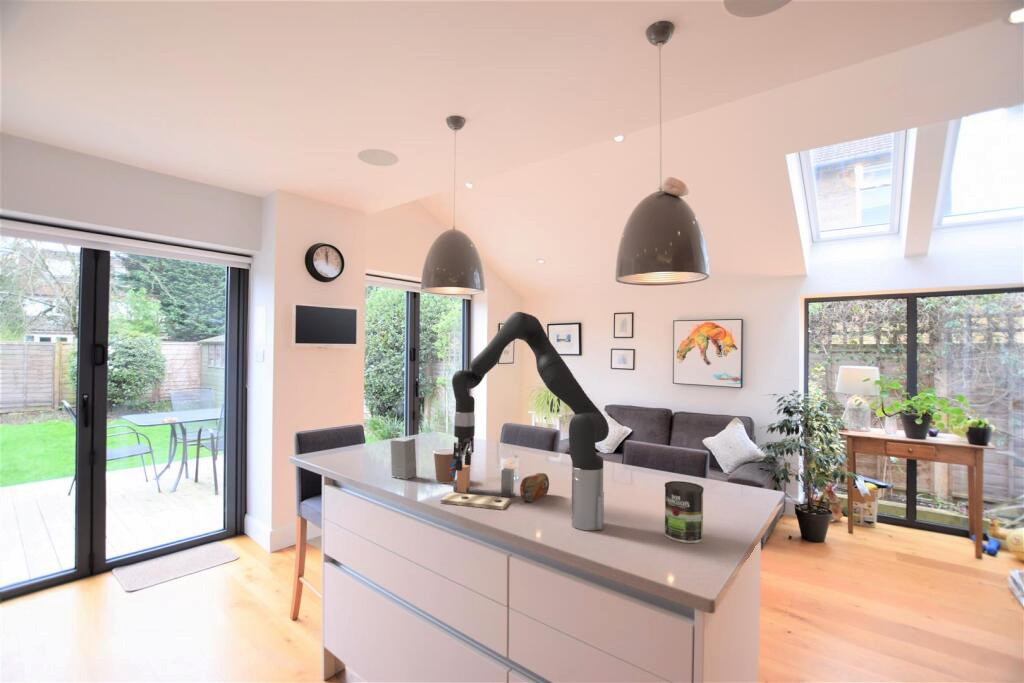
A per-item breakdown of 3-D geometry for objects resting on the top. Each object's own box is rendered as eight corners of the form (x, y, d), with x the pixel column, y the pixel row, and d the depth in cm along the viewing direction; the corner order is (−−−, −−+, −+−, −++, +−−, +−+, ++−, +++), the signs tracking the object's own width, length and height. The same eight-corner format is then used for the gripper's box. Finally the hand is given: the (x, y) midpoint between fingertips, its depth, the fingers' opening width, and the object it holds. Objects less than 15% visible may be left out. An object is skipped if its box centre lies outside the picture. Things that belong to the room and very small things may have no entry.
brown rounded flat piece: (525, 504, 156) (526, 479, 157) (518, 503, 158) (518, 478, 158) (549, 495, 168) (549, 471, 169) (542, 493, 170) (542, 470, 170)
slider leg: (469, 490, 172) (470, 465, 172) (465, 492, 168) (466, 467, 169) (460, 489, 173) (461, 464, 173) (456, 491, 169) (457, 466, 170)
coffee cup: (454, 485, 179) (455, 454, 179) (428, 484, 180) (429, 452, 181) (461, 478, 189) (462, 449, 189) (437, 477, 190) (437, 448, 191)
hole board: (510, 501, 159) (510, 497, 159) (502, 509, 150) (502, 505, 150) (451, 495, 165) (451, 492, 165) (440, 503, 156) (440, 499, 156)
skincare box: (416, 477, 190) (417, 438, 191) (404, 480, 184) (405, 440, 185) (401, 474, 195) (402, 436, 196) (389, 477, 189) (390, 438, 190)
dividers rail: (516, 495, 167) (517, 469, 167) (514, 498, 163) (514, 471, 164) (457, 489, 173) (457, 464, 174) (453, 491, 170) (453, 466, 170)
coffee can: (693, 546, 122) (693, 493, 123) (657, 535, 130) (658, 485, 130) (709, 536, 130) (709, 486, 130) (674, 527, 137) (675, 479, 138)
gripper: (466, 427, 164) (465, 473, 163) (480, 422, 177) (479, 464, 177) (447, 426, 166) (446, 471, 165) (462, 421, 180) (461, 463, 179)
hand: (463, 467), depth 171 cm, fingers open, 8 cm apart
